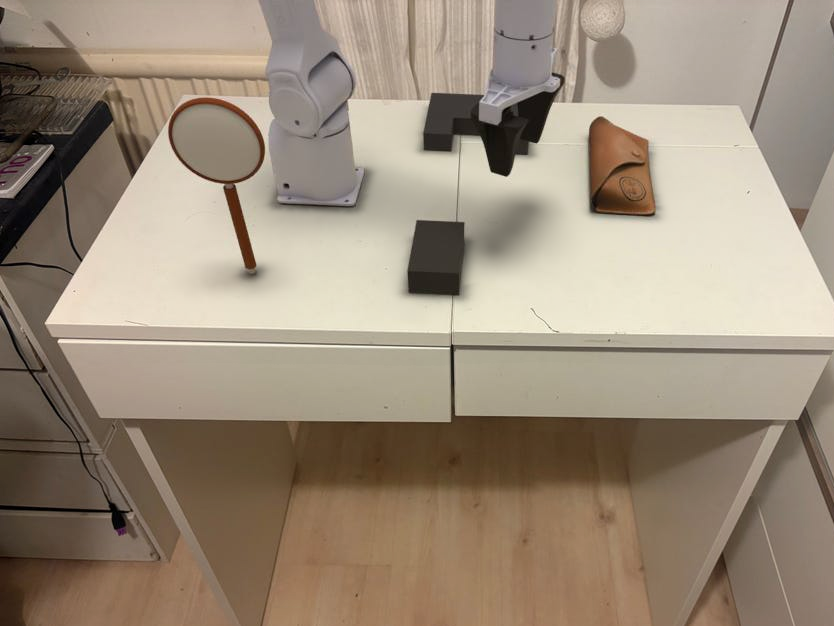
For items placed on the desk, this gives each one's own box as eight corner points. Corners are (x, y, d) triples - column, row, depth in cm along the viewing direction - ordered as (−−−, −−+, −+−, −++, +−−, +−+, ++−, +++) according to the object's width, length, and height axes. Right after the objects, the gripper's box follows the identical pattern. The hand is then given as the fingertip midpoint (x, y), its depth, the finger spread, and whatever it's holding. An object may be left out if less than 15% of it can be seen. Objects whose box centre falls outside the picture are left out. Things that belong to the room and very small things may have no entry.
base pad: (423, 150, 96) (423, 133, 94) (431, 108, 104) (431, 92, 102) (527, 154, 96) (529, 137, 94) (527, 112, 103) (528, 96, 102)
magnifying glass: (293, 268, 78) (256, 94, 64) (291, 278, 77) (252, 103, 62) (214, 267, 78) (159, 92, 63) (210, 277, 77) (153, 102, 62)
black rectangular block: (408, 292, 76) (407, 270, 74) (417, 241, 82) (416, 219, 80) (459, 295, 76) (459, 273, 74) (464, 243, 82) (464, 221, 80)
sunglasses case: (660, 213, 86) (641, 169, 82) (606, 234, 89) (584, 193, 85) (648, 138, 98) (631, 96, 94) (601, 158, 101) (582, 119, 97)
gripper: (531, 66, 62) (521, 199, 72) (590, 10, 71) (574, 135, 81) (459, 49, 64) (459, 180, 74) (525, -3, 73) (517, 120, 83)
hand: (515, 156), depth 77 cm, fingers open, 7 cm apart
